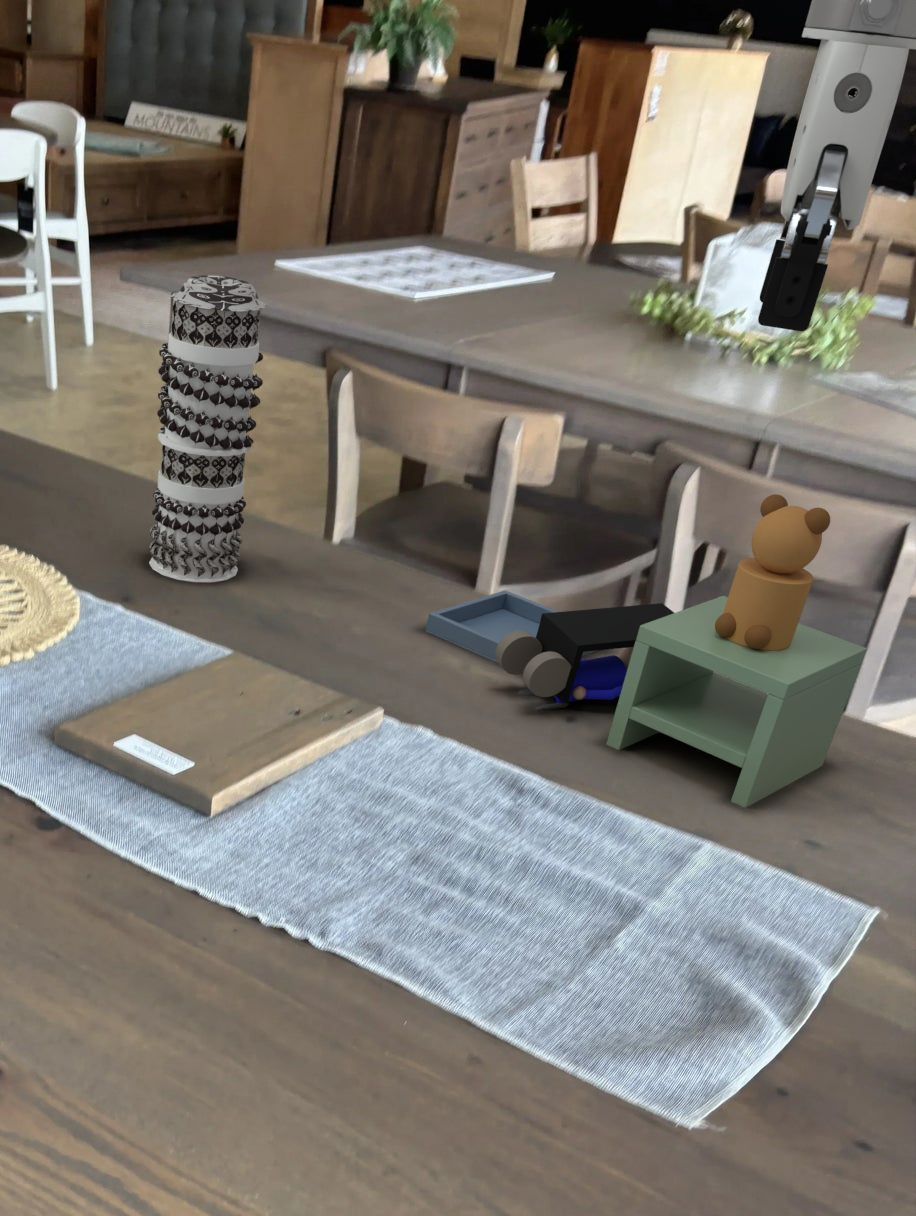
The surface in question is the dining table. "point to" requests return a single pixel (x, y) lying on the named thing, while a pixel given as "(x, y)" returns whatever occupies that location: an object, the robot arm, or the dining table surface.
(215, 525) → the decorative candle
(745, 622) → the toy bear
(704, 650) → the shelf
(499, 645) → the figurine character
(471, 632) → the tray
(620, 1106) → the dining table surface
